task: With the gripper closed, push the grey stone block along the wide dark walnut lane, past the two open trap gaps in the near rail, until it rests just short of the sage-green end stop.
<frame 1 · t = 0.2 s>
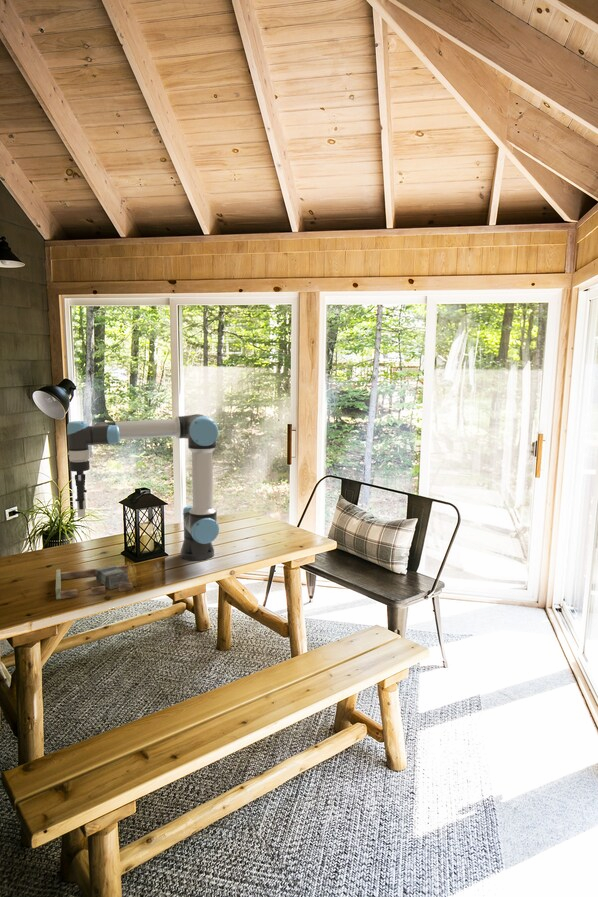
hand: (82, 512, 245), 28 cm above the table, tool pointing down, fingers open, 13 cm apart
stone block: (113, 583, 246), on the table
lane: (95, 583, 244), on the table
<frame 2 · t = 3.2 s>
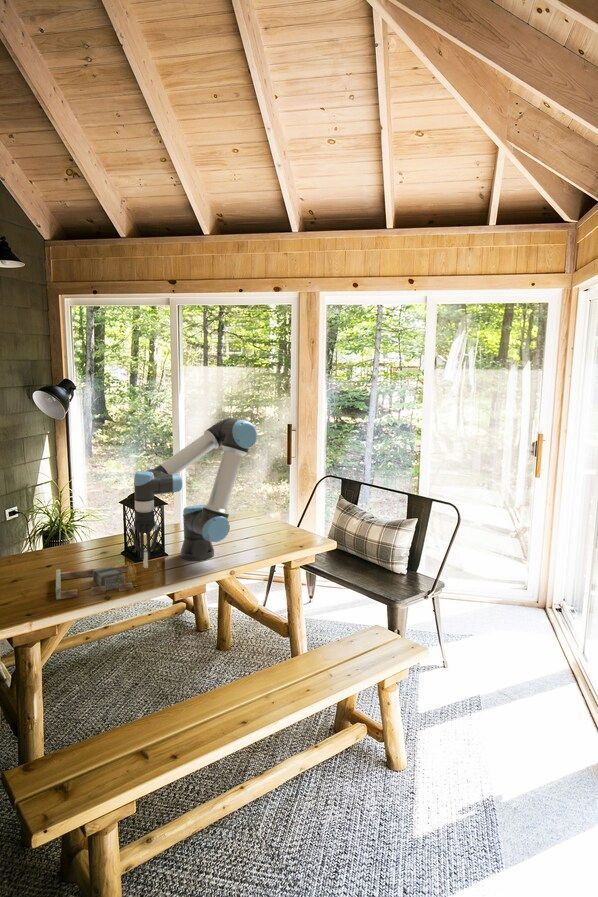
hand: (145, 566, 250), 5 cm above the table, tool pointing down, fingers closed
stone block: (110, 584, 245), on the table
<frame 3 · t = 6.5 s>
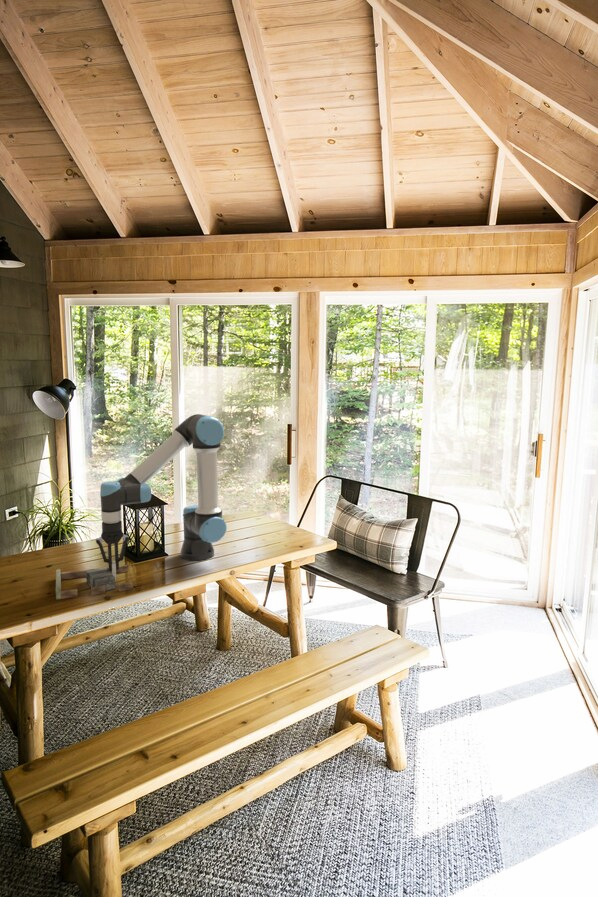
hand: (114, 577, 246), 2 cm above the table, tool pointing down, fingers closed
stone block: (102, 586, 243), on the table, touching gripper
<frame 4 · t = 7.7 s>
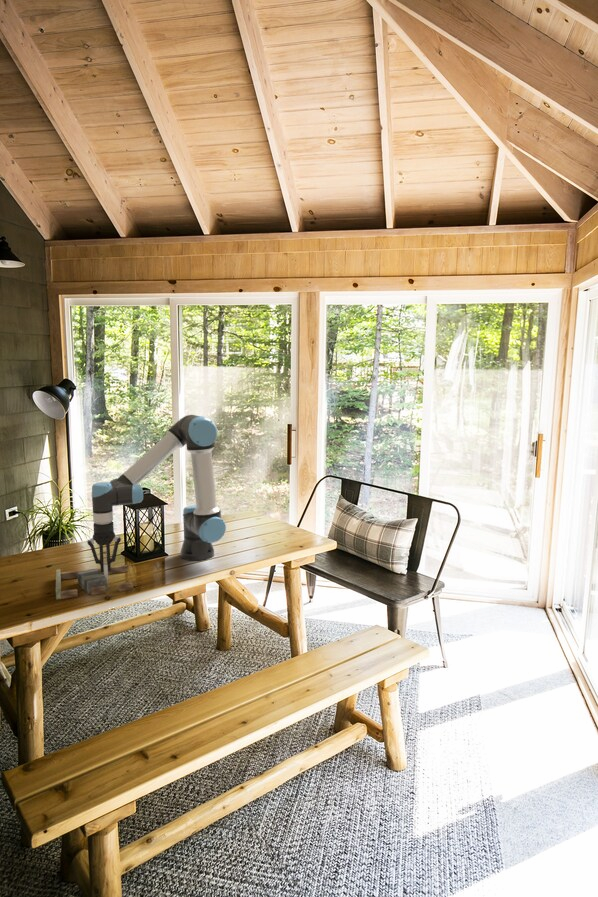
hand: (106, 579, 245), 1 cm above the table, tool pointing down, fingers closed
stone block: (94, 587, 241), on the table
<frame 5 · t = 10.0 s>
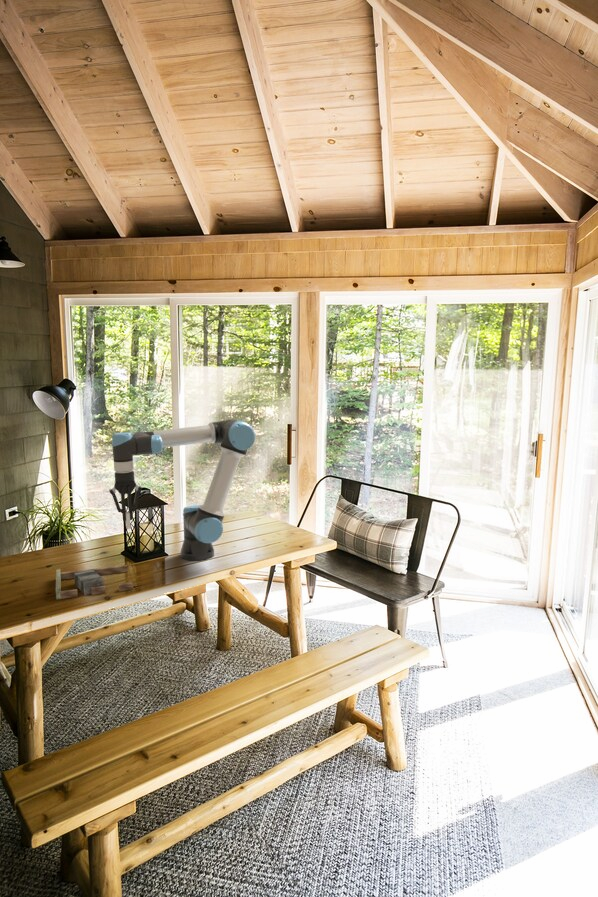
hand: (128, 527, 250), 20 cm above the table, tool pointing down, fingers closed
stone block: (90, 588, 241), on the table
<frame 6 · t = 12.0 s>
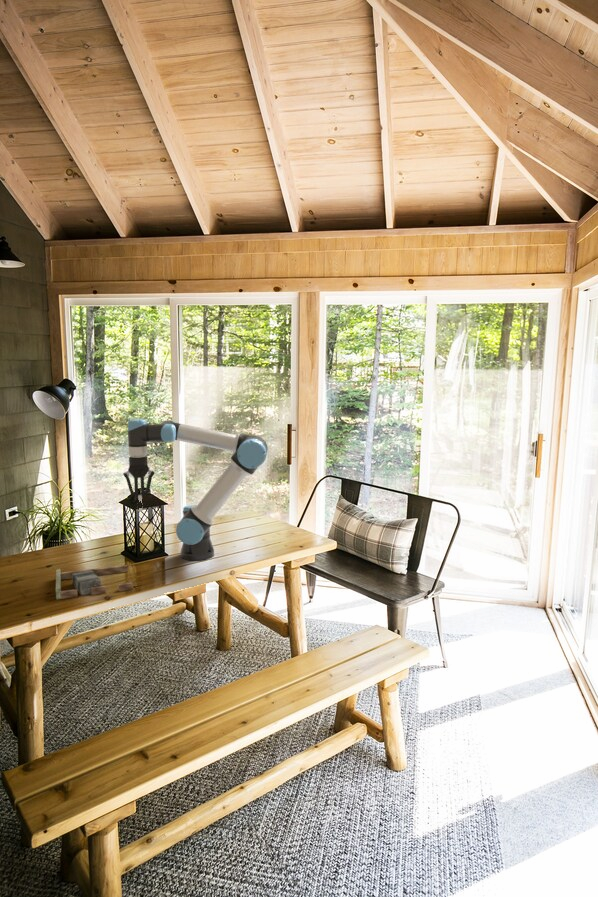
hand: (140, 510, 262), 24 cm above the table, tool pointing down, fingers closed
stone block: (88, 588, 240), on the table
at the end: stone block inside the target area (3.9 cm from its centre), on the table; stone block moved 10.3 cm from its start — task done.
